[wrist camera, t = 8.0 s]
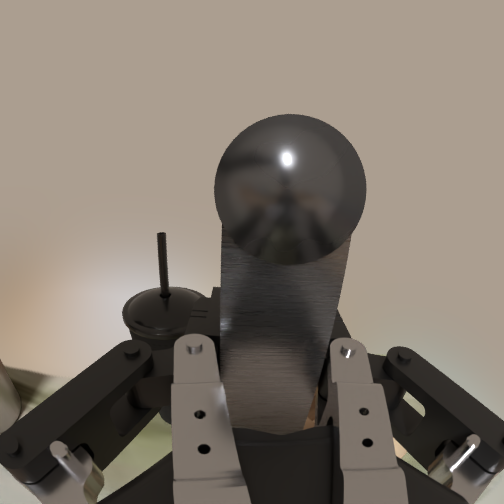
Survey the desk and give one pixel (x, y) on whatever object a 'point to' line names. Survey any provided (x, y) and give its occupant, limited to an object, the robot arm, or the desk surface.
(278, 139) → the ball topped joystick
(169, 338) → the drinking cup
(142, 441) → the desk surface
